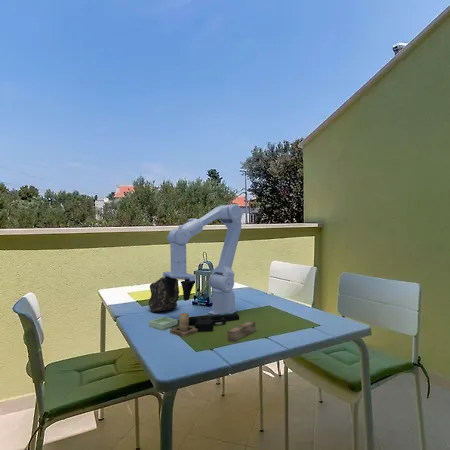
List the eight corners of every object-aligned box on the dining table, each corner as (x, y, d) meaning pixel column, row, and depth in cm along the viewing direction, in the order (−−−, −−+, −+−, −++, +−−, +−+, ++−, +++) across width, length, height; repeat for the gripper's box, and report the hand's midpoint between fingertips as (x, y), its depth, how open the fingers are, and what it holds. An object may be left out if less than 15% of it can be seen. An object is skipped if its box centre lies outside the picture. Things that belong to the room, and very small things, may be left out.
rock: (165, 307, 141) (190, 306, 133) (143, 315, 131) (169, 314, 122) (161, 276, 143) (185, 272, 134) (138, 280, 132) (163, 277, 124)
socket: (184, 328, 109) (184, 324, 109) (198, 331, 105) (198, 328, 105) (169, 333, 104) (169, 329, 104) (184, 337, 100) (184, 333, 100)
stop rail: (250, 329, 107) (250, 320, 107) (255, 330, 106) (255, 321, 106) (227, 340, 97) (227, 331, 97) (232, 342, 96) (232, 332, 96)
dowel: (181, 330, 106) (182, 312, 107) (189, 331, 105) (190, 313, 106) (177, 332, 103) (178, 314, 104) (185, 334, 102) (186, 315, 103)
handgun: (249, 327, 110) (235, 318, 121) (249, 318, 110) (235, 310, 122) (196, 334, 103) (186, 324, 114) (196, 324, 103) (186, 315, 114)
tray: (164, 321, 116) (164, 316, 116) (177, 325, 112) (177, 319, 112) (149, 326, 110) (149, 321, 110) (162, 330, 106) (162, 324, 106)
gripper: (156, 261, 116) (157, 298, 116) (185, 264, 108) (185, 303, 108) (170, 259, 122) (170, 294, 122) (199, 261, 114) (199, 299, 114)
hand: (178, 298), depth 115 cm, fingers open, 7 cm apart
